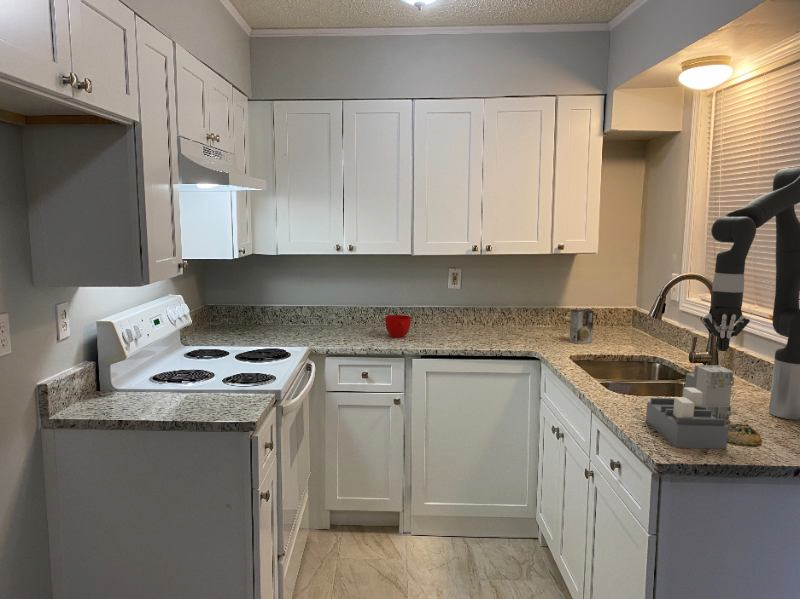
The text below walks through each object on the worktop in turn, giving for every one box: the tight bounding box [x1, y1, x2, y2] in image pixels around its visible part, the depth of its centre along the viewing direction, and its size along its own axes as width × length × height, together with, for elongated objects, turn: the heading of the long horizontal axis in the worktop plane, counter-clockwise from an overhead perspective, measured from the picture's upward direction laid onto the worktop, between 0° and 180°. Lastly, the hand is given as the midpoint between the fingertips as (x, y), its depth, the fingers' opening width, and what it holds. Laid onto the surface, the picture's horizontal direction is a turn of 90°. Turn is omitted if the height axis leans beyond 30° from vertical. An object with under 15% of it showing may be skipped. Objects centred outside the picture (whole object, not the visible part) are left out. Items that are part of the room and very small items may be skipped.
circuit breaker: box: [684, 364, 735, 422], centre depth 176 cm, size 8×14×15 cm, turn 2°
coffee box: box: [569, 308, 595, 345], centre depth 280 cm, size 9×6×16 cm
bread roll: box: [725, 423, 762, 446], centre depth 156 cm, size 11×11×5 cm
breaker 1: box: [682, 386, 703, 406], centre depth 162 cm, size 3×5×5 cm, turn 178°
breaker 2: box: [673, 396, 695, 418], centre depth 152 cm, size 3×5×5 cm, turn 178°
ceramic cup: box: [384, 314, 412, 339], centre depth 284 cm, size 13×17×10 cm
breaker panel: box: [645, 397, 729, 450], centre depth 158 cm, size 13×20×8 cm, turn 178°
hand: (721, 350), depth 160 cm, fingers closed
